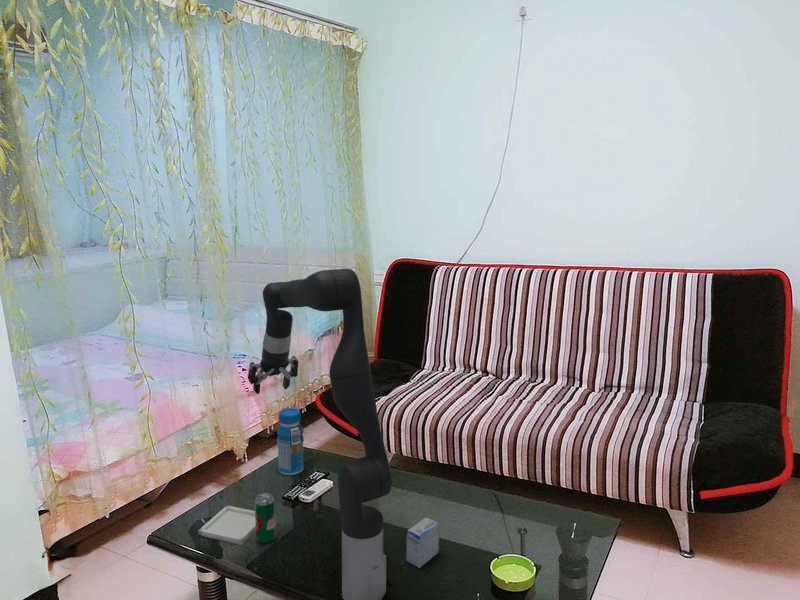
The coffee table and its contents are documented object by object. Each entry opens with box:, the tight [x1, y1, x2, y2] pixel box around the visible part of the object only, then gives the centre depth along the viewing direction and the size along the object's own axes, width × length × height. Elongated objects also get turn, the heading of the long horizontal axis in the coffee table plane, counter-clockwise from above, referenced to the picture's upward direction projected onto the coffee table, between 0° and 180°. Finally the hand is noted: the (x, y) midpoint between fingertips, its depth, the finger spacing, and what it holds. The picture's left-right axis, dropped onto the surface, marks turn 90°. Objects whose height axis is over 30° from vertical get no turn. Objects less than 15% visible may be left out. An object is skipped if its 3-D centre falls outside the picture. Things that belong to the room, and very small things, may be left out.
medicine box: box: [405, 517, 440, 569], centre depth 149 cm, size 8×4×9 cm, turn 141°
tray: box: [197, 505, 256, 546], centre depth 162 cm, size 13×13×2 cm
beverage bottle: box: [276, 407, 305, 476], centre depth 192 cm, size 8×8×20 cm
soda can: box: [253, 492, 277, 545], centre depth 156 cm, size 5×5×12 cm
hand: (271, 389), depth 177 cm, fingers open, 8 cm apart
